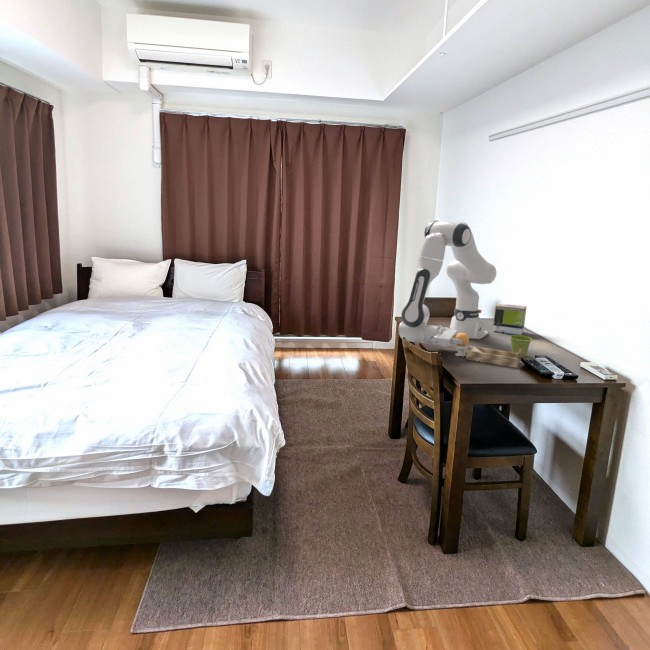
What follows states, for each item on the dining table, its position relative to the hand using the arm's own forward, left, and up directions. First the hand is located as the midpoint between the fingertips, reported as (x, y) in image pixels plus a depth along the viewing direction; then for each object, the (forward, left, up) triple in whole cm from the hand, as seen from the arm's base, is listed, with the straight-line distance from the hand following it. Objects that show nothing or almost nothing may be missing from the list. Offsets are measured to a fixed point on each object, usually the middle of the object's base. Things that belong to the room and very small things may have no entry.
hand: (464, 339), depth 215 cm
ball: (0, -1, -3) cm, 3 cm away
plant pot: (-22, +16, -8) cm, 28 cm away
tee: (0, -1, -8) cm, 8 cm away
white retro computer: (-62, -8, -8) cm, 63 cm away
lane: (-4, +12, -8) cm, 15 cm away
